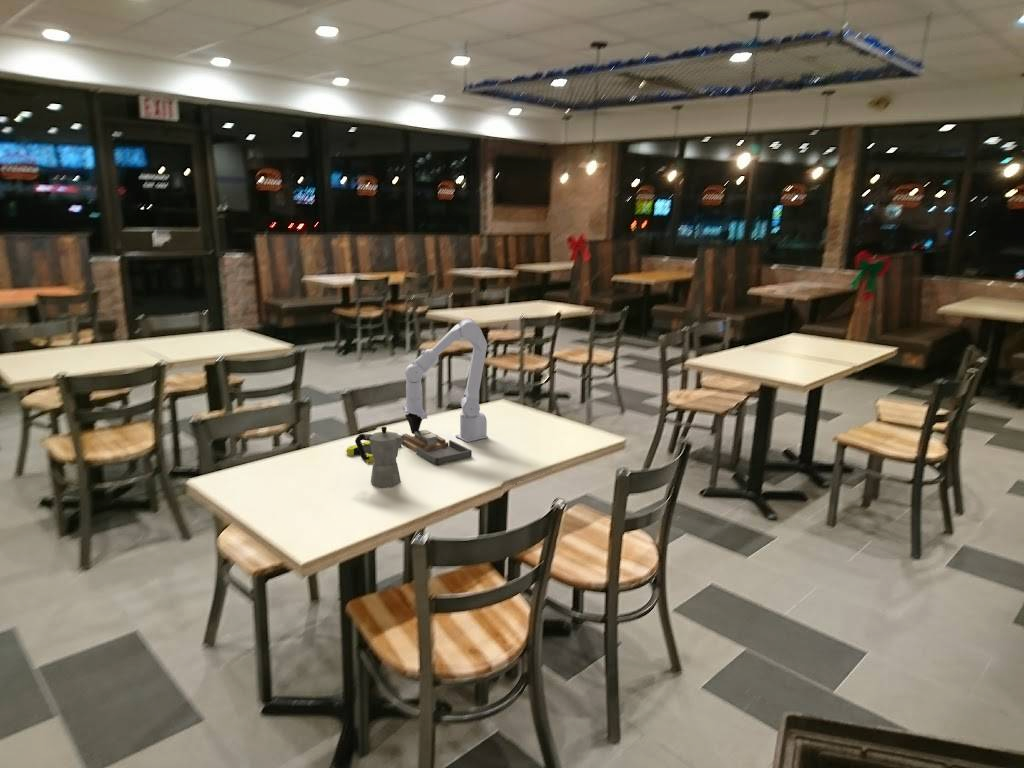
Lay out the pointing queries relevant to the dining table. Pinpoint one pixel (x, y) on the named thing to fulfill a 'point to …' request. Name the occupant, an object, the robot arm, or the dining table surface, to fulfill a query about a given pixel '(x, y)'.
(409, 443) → the slot board
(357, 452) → the stun gun
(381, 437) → the coffeepot
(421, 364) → the robot arm
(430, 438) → the chip front
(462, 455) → the tray
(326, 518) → the dining table surface
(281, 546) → the dining table surface
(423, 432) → the block
